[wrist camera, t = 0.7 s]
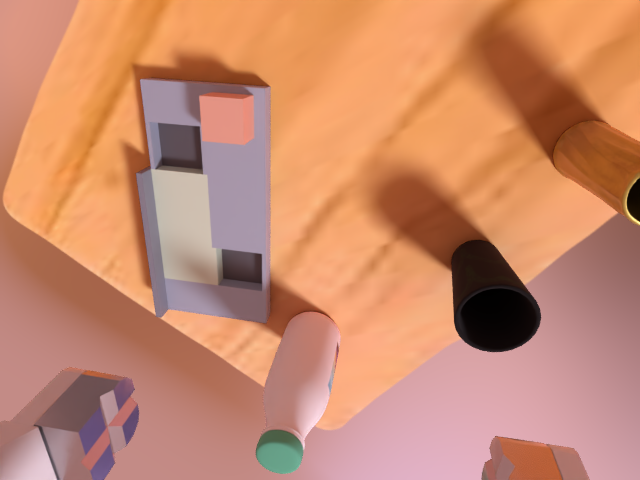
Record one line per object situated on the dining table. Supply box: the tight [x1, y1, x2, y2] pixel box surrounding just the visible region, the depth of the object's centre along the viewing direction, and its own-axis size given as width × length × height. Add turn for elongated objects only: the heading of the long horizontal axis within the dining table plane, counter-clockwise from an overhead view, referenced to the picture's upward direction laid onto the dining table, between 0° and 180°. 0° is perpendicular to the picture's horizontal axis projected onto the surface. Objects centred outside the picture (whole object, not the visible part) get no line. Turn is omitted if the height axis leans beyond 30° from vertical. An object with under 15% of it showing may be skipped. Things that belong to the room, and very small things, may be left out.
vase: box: [553, 120, 640, 226], centre depth 37 cm, size 6×6×14 cm
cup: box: [452, 240, 541, 352], centre depth 45 cm, size 8×8×12 cm
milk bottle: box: [256, 312, 341, 474], centre depth 50 cm, size 8×8×20 cm
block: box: [199, 92, 254, 145], centre depth 44 cm, size 4×4×4 cm
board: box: [136, 78, 270, 323], centre depth 51 cm, size 30×15×4 cm, turn 177°
